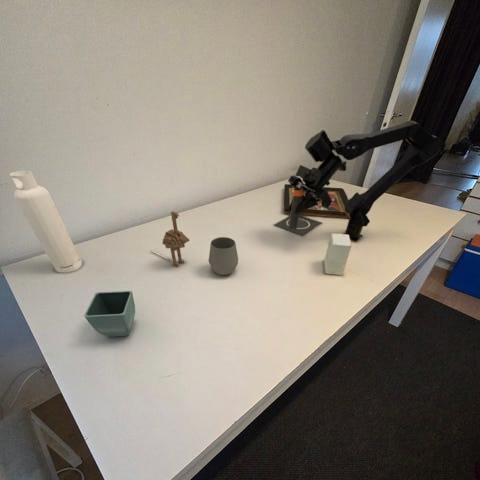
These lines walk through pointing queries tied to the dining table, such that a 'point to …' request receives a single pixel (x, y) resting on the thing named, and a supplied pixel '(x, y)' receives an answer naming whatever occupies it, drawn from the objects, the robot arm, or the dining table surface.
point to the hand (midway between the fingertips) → (291, 211)
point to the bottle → (45, 222)
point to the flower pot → (111, 313)
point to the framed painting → (333, 210)
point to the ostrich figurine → (174, 240)
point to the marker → (295, 203)
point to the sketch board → (299, 225)
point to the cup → (223, 255)
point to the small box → (337, 253)
